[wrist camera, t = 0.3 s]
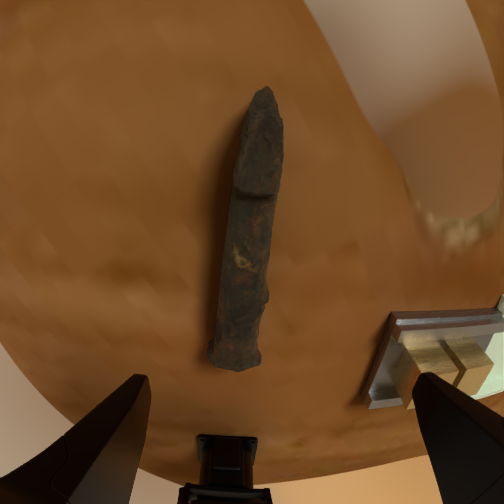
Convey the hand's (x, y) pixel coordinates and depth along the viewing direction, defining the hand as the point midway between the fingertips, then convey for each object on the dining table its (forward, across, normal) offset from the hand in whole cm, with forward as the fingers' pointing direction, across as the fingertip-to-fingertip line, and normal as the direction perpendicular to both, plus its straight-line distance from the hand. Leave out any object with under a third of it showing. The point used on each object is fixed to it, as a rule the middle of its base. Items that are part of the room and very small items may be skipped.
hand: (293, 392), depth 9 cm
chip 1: (+13, -15, +11) cm, 22 cm away
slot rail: (+14, -18, +11) cm, 25 cm away
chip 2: (+13, -20, +11) cm, 26 cm away
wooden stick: (+14, +2, -1) cm, 14 cm away
